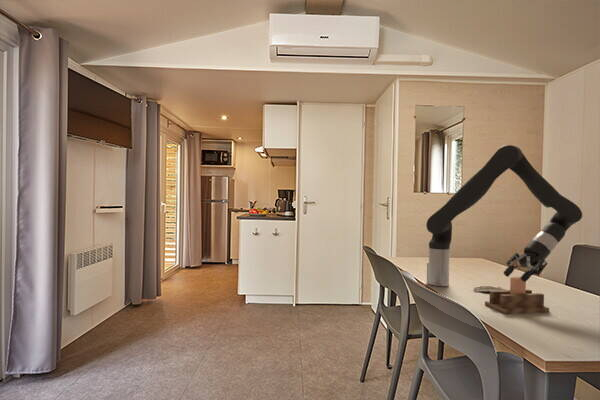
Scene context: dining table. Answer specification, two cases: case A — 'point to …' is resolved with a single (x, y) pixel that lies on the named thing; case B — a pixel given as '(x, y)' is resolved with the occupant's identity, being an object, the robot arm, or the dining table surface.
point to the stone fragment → (487, 288)
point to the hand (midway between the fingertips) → (513, 277)
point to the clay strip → (517, 286)
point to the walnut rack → (516, 302)
